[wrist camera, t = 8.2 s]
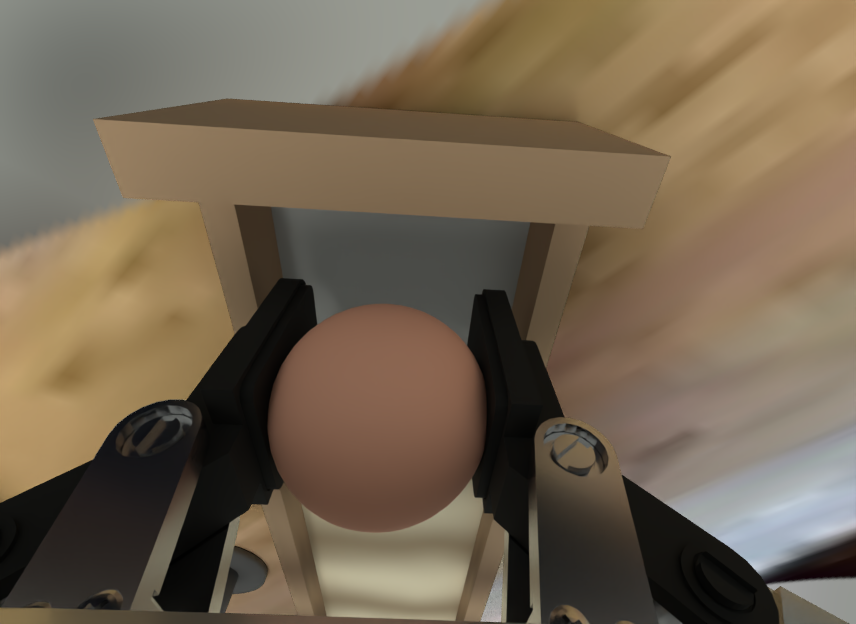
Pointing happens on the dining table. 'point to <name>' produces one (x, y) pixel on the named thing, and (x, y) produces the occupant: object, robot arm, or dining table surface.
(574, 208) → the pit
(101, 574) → the robot arm
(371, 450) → the ball
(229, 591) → the tee
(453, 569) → the lane
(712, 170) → the dining table surface
